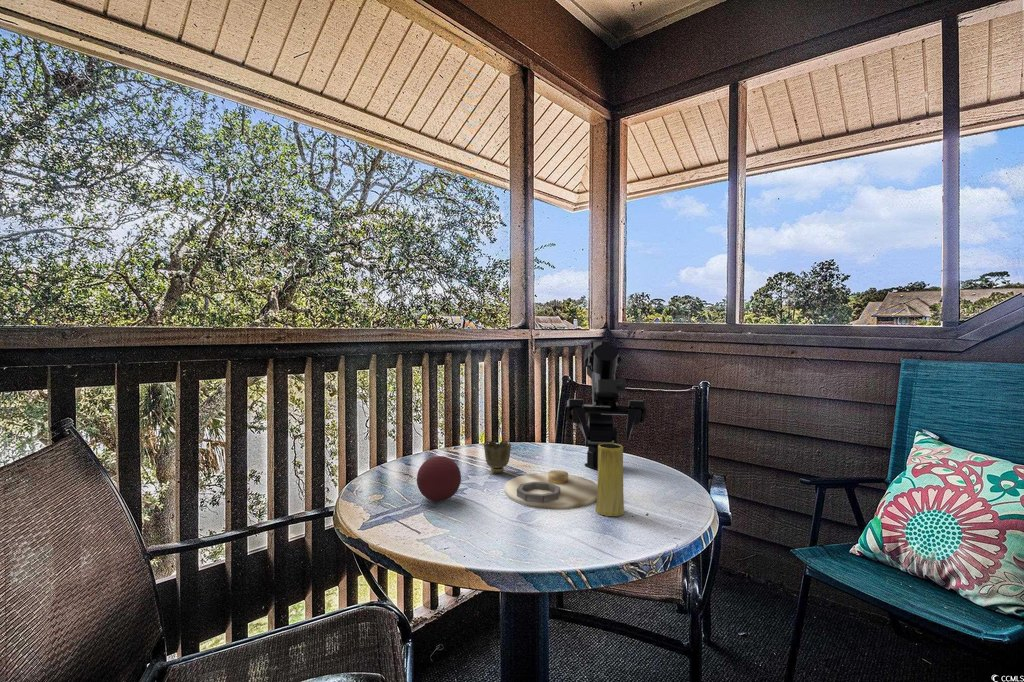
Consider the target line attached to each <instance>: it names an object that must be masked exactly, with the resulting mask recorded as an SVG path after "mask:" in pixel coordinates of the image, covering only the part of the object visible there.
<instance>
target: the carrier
mask: <svg viewBox="0 0 1024 682" xmlns="http://www.w3.org/2000/svg"><path fill="white" fill-rule="evenodd" d="M597 487H598V483H596V482H594V481H593V480H591V479H588V478H585V477H583V476H579V475H573V474H569V473H568V472H567V471H565V470H562V469H561V470H558V469H557V470H550V471H548V472H540V473H539V472H538V473H537V472H536V473H527V474H523V475H519V476H516V477H513V478H512V479H509V480H508V481H507V482H506V483H505V484H504V494H505V495H506V497H507V498H508V499H510V500H512V501H514V502H515V503H519V504H522V505H525V506H527V507H528V506H529V507H532V508H533V507H534V508H541V509H551V510H552V509H555V510H559V509H560V510H561V509H562V510H563V509H573V508H574V507H575V508H580V507H584V506H588V505H591V504H593V503H595V502H597ZM594 501H595V502H594ZM590 503H591V504H590Z"/></svg>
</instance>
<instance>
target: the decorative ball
mask: <svg viewBox="0 0 1024 682" xmlns="http://www.w3.org/2000/svg"><path fill="white" fill-rule="evenodd" d="M461 481H462V475H461V470H460V467H459V465H458V464H457V463H456V462H455V460H453V459H451V458H449V456H448V457H447V456H446V455H436V456H432V457H430V458H428V459H426V460H425V461H424V462H422V464H421V466H420V467H419V469H418V470H417V473H416V484H417V489H418V490H419V492H420V493H421V495H422V496H423V497H424V498H426V499H427V500H429V501H432V502H443V501H444V502H445V501H447V500H448V499H451V498H452V497H453V496H454V495H455V494H456V493H457V492H458V489H460V485H461Z"/></svg>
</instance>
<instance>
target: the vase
mask: <svg viewBox="0 0 1024 682" xmlns="http://www.w3.org/2000/svg"><path fill="white" fill-rule="evenodd" d="M597 485H598V487H597V500H596V506H595V512H596V513H597V514H599V515H600V514H601V516H603V515H605V516H604V517H608V516H618V517H621V516H623V515H624V514H625V505H624V504H625V503H624V500H625V499H624V446H623V445H622V444H619V443H618V444H616V443H601V444H599V445H598V470H597ZM620 515H621V516H620Z"/></svg>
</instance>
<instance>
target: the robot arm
mask: <svg viewBox="0 0 1024 682" xmlns="http://www.w3.org/2000/svg"><path fill="white" fill-rule="evenodd" d="M620 362H622V357H621V356H620V355H619V350H618V348H616V346H614V345H612V344H610V340H609V341H607V340H605V339H603V340H600V339H598V340H597V339H593V340H591V341H590V345H589V346H588V347H587V348H585V350H584V362H583V363H584V367H583V368H586V375H587V376H588V377H589V378H590V379H591V399H592V404H584V398H568V399H567V400H566V419H567V421H572V422H571V423H572V424H576V425H577V426H578V428H579V429H580V431H581V433H582V435H583V437H584V440H585V441H584V444H585V447H587V451H586V452H587V453H586V454H587V455H586V461H587V462H586V463H584V466H585V467H588V468H591V469H593V470H596V471H598V445H599V444H601V443H616V444H619V443H618V442H619V441H618V440H619V430H618V429H617V426H616V425H614V417H613V415H614V416H626V417H627V419H626V426H625V427H626V430H625V441H626V443H629V441H630V437H631V434H632V431H633V429H634V427H635V426H638V425H639V424H641V423H644V422H645V420H646V414H647V409H648V408H647V403H646V402H645V401H644V400H635V399H634V400H633V399H628V404H627V405H618V402H619V394H625V393H626V378H624V377H622V378H619V377H618V378H616V371H617V367H618V365H619V363H620ZM586 414H588V418H587V419H588V422H587V419H586Z"/></svg>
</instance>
